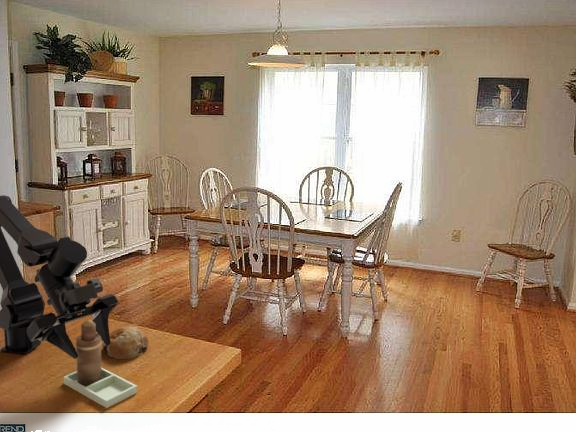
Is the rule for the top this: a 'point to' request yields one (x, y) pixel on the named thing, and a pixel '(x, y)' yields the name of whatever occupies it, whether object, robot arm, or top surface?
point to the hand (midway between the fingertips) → (93, 351)
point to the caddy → (103, 388)
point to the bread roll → (126, 343)
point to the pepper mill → (88, 354)
